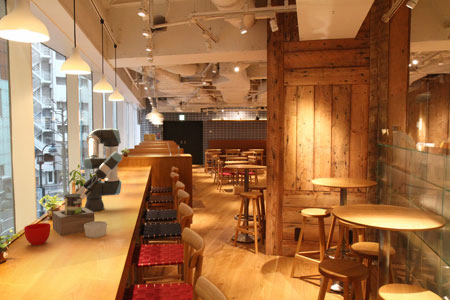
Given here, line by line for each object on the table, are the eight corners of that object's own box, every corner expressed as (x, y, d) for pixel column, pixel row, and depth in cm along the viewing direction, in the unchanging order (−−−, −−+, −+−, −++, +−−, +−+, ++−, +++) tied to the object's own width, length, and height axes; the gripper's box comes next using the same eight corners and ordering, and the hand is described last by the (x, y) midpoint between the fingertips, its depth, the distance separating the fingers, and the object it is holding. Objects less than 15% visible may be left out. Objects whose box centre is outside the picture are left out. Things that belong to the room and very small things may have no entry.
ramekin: (105, 237, 207) (105, 226, 206) (81, 239, 205) (81, 227, 204) (109, 231, 220) (108, 220, 219) (86, 232, 218) (86, 221, 217)
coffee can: (85, 216, 227) (85, 194, 226) (72, 220, 218) (72, 197, 217) (73, 214, 232) (73, 192, 231) (60, 217, 222) (60, 195, 221)
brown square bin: (52, 229, 226) (52, 211, 226) (84, 224, 239) (84, 207, 238) (61, 236, 211) (60, 217, 210) (94, 230, 223) (94, 212, 223)
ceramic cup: (56, 237, 208) (55, 220, 207) (46, 246, 191) (46, 228, 191) (32, 238, 206) (31, 221, 205) (20, 248, 189) (20, 229, 189)
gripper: (111, 177, 224) (87, 203, 217) (102, 173, 245) (80, 197, 238) (103, 169, 221) (78, 195, 214) (94, 166, 242) (71, 190, 235)
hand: (79, 196), depth 226 cm, fingers open, 13 cm apart
